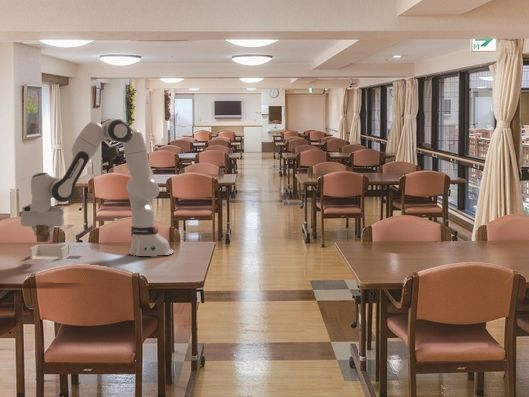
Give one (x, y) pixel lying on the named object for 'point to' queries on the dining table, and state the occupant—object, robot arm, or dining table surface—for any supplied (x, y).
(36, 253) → the box
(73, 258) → the coaster
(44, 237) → the block
